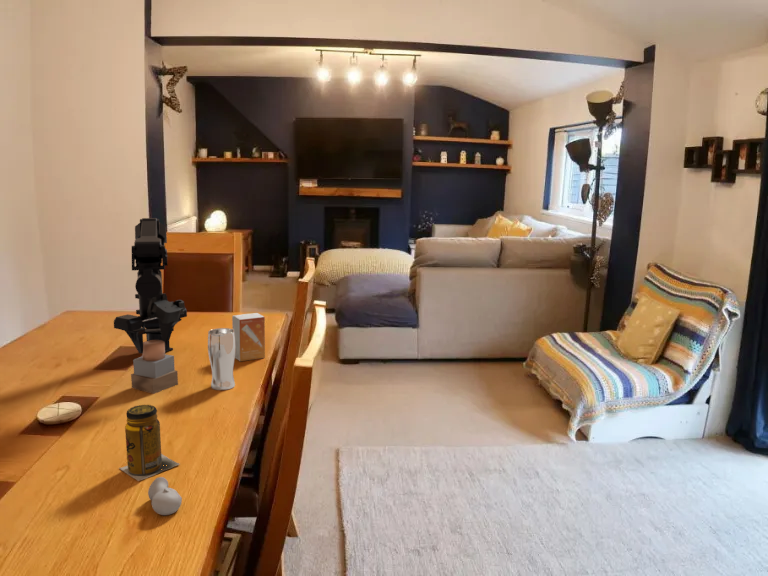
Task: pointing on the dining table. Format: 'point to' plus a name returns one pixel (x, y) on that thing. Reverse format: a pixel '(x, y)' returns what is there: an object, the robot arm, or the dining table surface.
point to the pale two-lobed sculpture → (163, 497)
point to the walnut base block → (154, 382)
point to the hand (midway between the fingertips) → (153, 349)
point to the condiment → (144, 443)
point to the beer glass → (222, 357)
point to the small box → (249, 336)
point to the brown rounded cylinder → (153, 350)
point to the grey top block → (153, 367)
